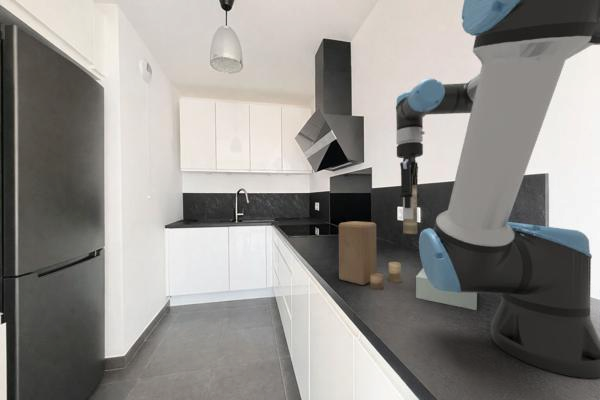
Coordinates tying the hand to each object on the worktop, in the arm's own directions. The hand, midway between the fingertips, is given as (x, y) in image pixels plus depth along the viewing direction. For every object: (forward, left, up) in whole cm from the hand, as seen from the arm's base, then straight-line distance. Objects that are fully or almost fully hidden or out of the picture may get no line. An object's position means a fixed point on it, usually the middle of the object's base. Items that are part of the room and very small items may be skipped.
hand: (410, 218), depth 78 cm
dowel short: (-5, +9, -22) cm, 24 cm away
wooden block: (-1, +17, -22) cm, 28 cm away
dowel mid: (+5, +6, -22) cm, 23 cm away
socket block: (0, -10, -22) cm, 24 cm away
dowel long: (0, 0, -5) cm, 5 cm away
